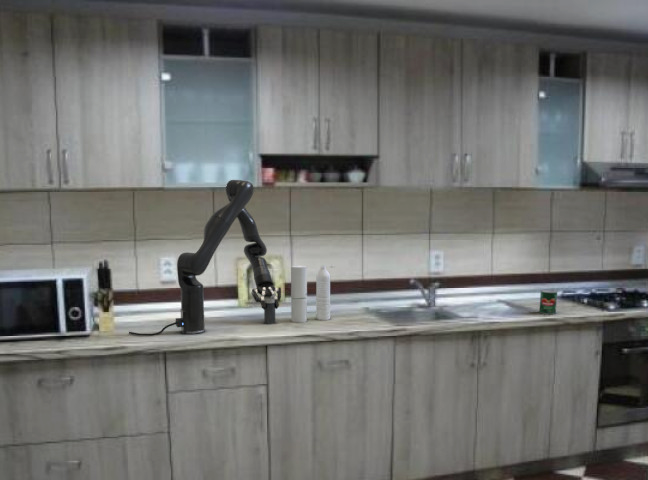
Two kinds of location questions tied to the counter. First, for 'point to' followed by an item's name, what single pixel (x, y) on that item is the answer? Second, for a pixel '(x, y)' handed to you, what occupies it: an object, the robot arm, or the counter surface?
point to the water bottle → (323, 294)
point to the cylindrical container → (298, 293)
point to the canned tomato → (548, 302)
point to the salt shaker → (269, 311)
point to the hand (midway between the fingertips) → (270, 308)
